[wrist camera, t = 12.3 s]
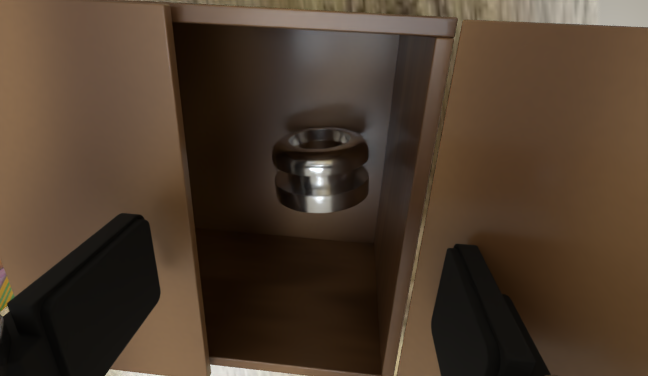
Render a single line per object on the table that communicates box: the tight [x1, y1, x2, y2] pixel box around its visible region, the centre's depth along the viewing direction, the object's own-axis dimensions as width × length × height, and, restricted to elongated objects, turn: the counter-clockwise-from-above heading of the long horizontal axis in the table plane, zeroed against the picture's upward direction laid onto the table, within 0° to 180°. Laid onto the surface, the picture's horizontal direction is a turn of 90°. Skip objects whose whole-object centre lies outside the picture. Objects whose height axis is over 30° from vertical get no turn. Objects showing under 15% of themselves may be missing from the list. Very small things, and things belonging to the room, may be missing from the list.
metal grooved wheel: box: [272, 127, 369, 213], centre depth 20 cm, size 5×3×5 cm, turn 93°
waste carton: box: [0, 0, 458, 376], centre depth 18 cm, size 15×14×11 cm
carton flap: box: [397, 20, 648, 376], centre depth 9 cm, size 7×14×1 cm
